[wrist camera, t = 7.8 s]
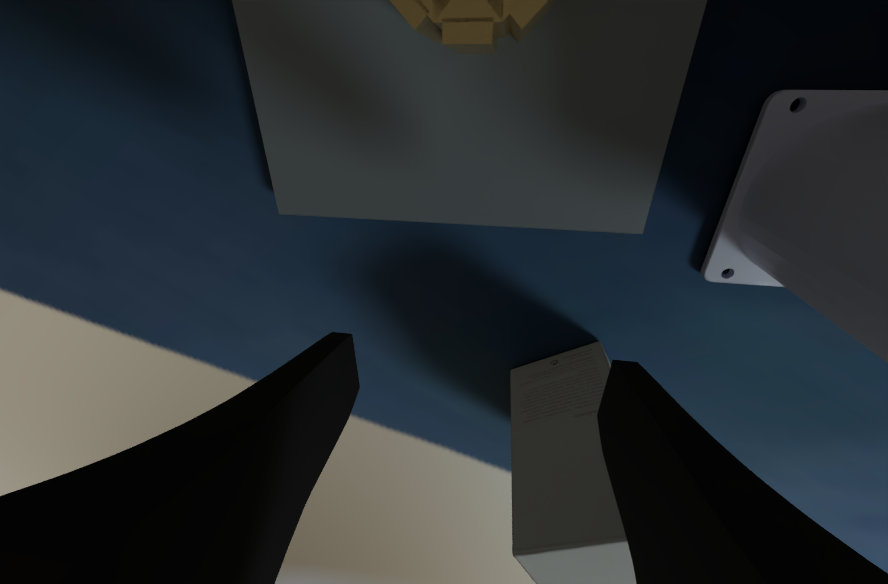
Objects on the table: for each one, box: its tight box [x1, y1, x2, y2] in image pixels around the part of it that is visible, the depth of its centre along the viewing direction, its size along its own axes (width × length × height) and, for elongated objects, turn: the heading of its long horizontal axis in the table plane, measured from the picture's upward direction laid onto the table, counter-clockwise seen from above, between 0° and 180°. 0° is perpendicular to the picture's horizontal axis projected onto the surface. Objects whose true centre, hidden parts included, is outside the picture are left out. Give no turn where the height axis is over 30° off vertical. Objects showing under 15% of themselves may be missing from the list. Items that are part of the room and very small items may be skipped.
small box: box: [510, 342, 637, 584], centre depth 19 cm, size 8×6×10 cm
